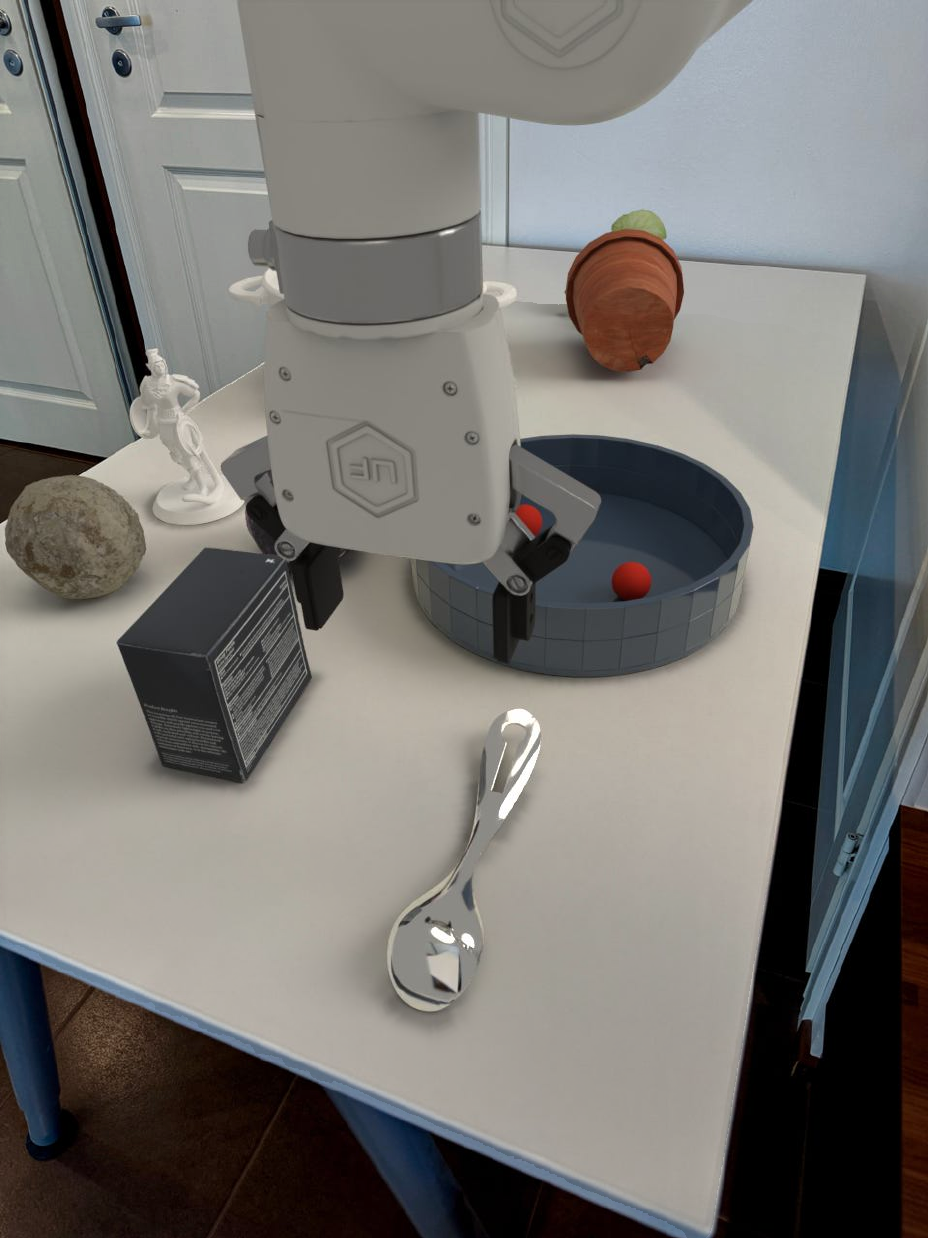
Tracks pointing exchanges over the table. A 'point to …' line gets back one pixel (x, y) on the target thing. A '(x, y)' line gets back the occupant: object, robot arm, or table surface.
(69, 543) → the decorative stone
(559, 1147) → the table surface
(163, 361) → the figurine
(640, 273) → the potted plant
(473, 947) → the metal spoon
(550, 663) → the bowl
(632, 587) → the tomato
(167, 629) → the small box
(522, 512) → the tomato
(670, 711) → the table surface
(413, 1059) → the table surface
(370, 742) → the table surface
